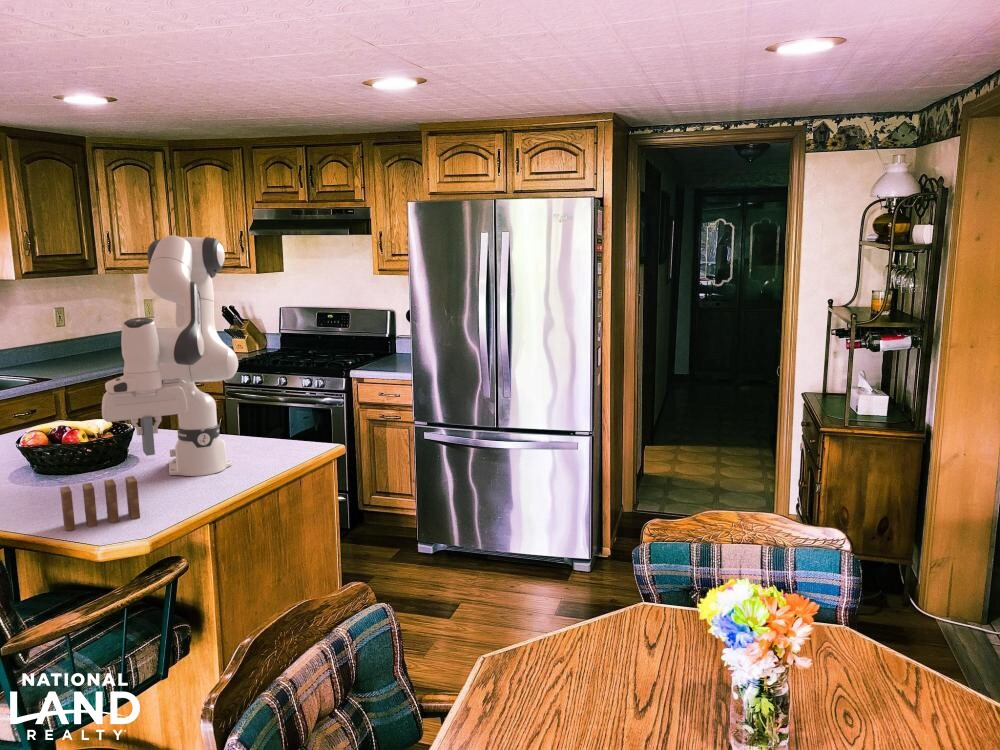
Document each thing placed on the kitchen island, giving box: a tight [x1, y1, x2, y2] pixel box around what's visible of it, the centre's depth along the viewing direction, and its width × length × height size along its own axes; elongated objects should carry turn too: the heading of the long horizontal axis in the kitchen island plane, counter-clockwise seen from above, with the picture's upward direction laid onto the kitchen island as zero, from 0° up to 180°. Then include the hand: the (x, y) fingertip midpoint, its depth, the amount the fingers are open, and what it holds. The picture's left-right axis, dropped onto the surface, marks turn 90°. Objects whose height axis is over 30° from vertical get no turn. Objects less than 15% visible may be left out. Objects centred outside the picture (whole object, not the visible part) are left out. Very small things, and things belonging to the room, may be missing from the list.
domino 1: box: [60, 485, 76, 532], centre depth 199 cm, size 2×5×10 cm, turn 34°
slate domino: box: [139, 416, 156, 457], centre depth 207 cm, size 2×5×10 cm, turn 33°
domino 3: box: [103, 478, 120, 524], centre depth 205 cm, size 2×5×10 cm, turn 34°
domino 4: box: [124, 475, 141, 520], centre depth 207 cm, size 2×5×10 cm, turn 34°
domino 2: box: [82, 482, 98, 528], centre depth 202 cm, size 2×5×10 cm, turn 34°
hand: (147, 434), depth 207 cm, fingers closed on slate domino, 2 cm apart
